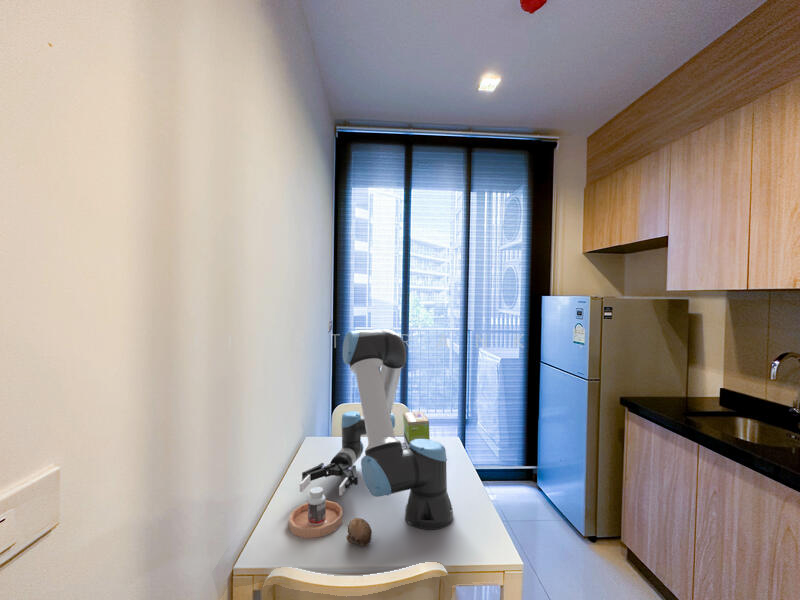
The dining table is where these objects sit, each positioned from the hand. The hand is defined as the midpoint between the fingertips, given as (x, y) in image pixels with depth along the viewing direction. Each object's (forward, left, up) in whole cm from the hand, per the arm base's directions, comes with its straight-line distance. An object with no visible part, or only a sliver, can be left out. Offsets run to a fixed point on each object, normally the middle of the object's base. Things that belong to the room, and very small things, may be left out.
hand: (320, 489), depth 119 cm
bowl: (-2, +2, -8) cm, 9 cm away
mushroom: (-19, -4, -9) cm, 21 cm away
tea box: (+26, -60, -9) cm, 66 cm away
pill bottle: (-3, +3, -8) cm, 9 cm away
